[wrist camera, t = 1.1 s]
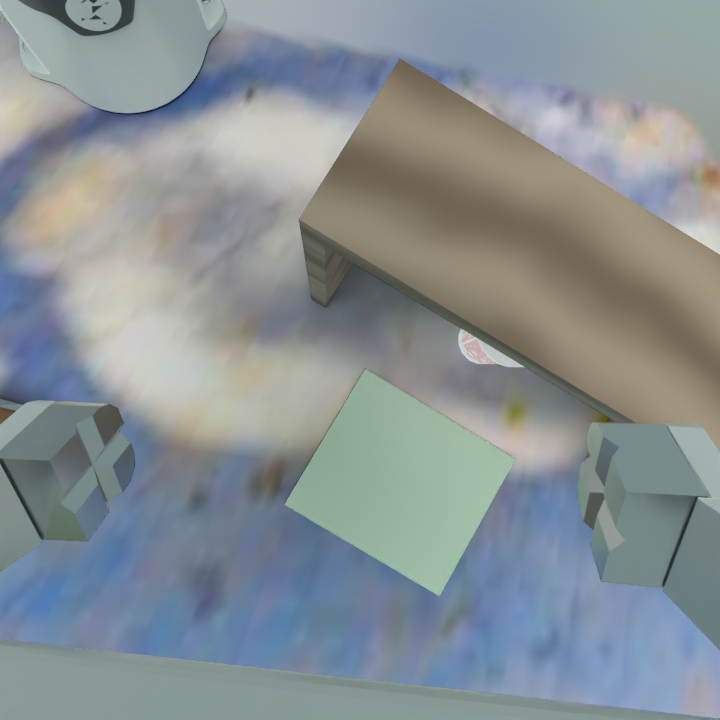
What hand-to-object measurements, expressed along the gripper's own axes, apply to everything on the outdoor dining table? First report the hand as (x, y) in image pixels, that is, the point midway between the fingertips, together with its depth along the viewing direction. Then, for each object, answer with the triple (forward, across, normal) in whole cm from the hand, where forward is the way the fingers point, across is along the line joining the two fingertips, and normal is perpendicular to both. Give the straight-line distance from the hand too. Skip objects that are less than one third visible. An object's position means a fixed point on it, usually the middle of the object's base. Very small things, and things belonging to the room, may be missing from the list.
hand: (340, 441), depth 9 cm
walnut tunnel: (+37, -6, +18) cm, 42 cm away
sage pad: (+28, +1, +28) cm, 40 cm away
